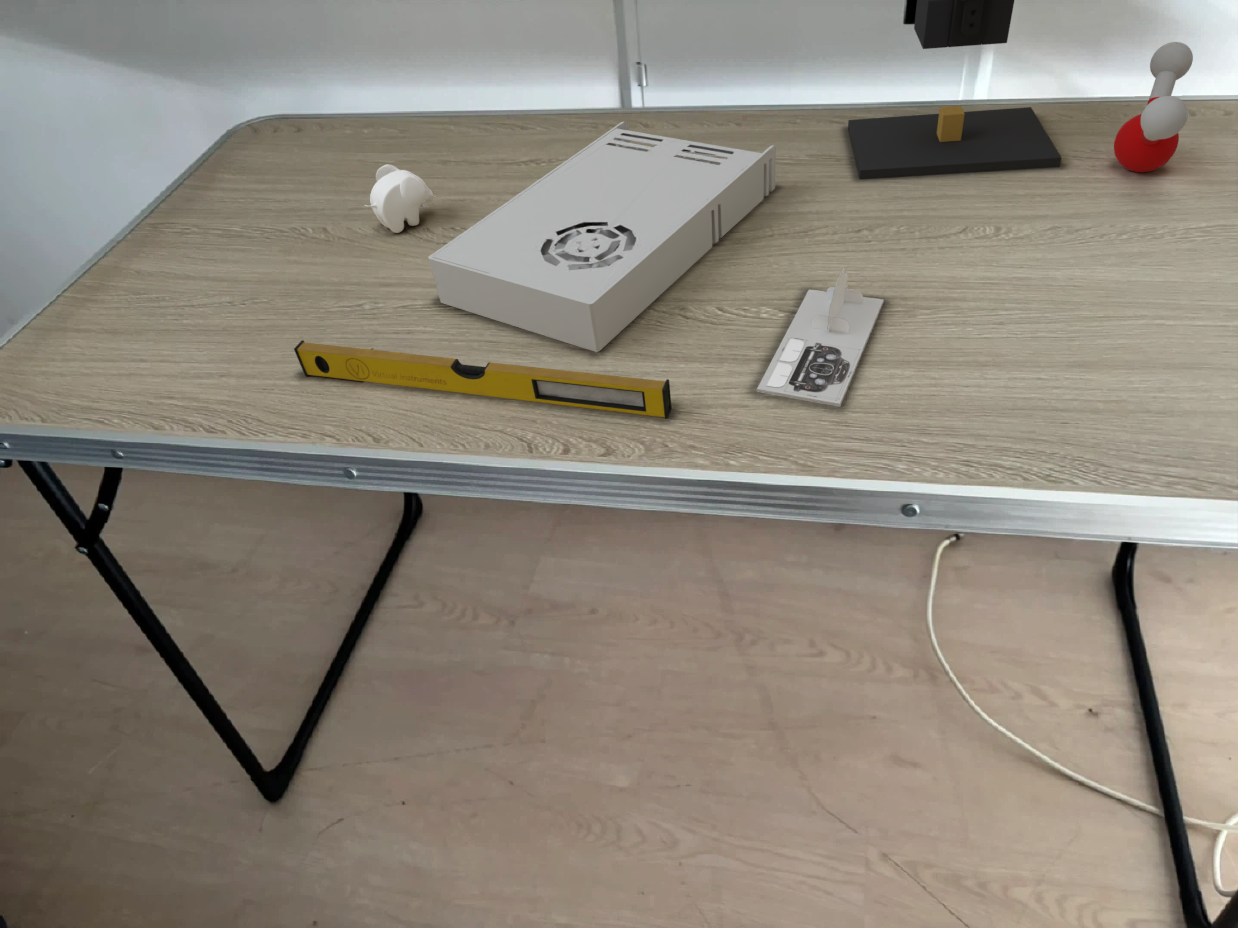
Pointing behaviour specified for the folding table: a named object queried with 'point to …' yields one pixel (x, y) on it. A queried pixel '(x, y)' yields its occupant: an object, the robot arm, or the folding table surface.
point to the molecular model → (1156, 114)
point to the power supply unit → (601, 235)
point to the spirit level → (488, 379)
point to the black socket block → (937, 23)
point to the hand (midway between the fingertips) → (960, 27)
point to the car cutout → (822, 345)
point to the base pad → (951, 143)
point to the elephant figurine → (398, 197)
